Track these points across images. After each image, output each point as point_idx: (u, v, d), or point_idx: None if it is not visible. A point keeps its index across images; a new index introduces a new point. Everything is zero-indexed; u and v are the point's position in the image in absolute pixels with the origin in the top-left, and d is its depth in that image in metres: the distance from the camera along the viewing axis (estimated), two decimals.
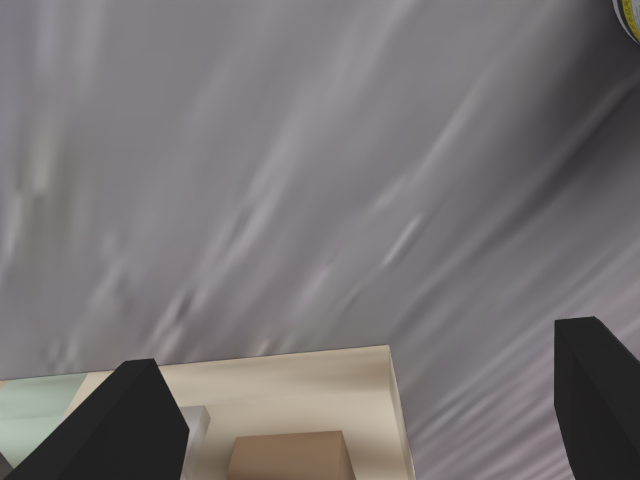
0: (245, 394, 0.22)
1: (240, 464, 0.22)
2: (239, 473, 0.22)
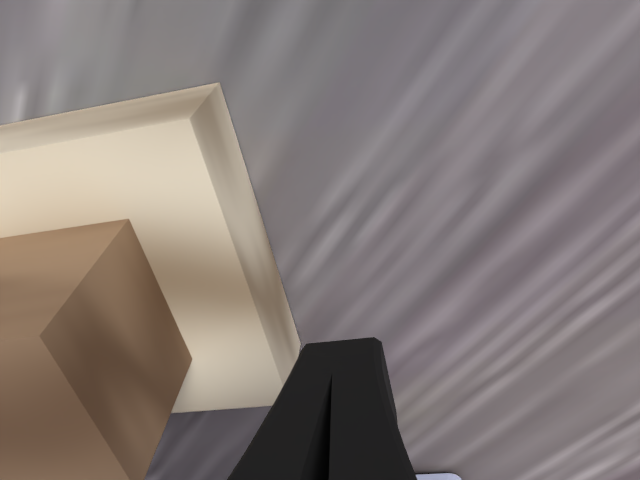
0: None
1: None
2: None
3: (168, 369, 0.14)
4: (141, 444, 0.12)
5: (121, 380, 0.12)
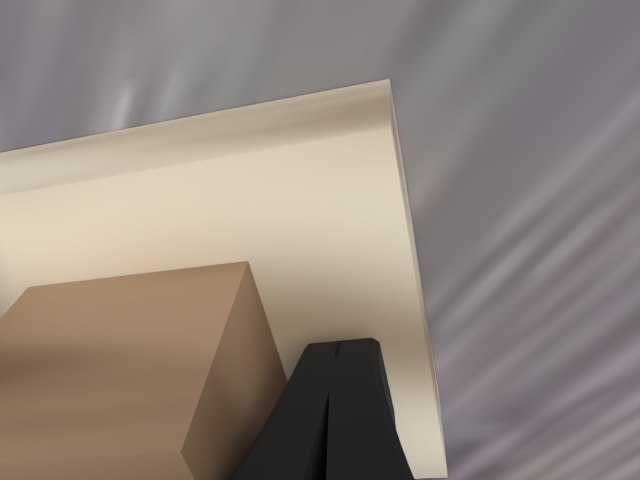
0: (62, 176, 0.10)
1: (10, 331, 0.10)
2: None
3: None
4: None
5: None
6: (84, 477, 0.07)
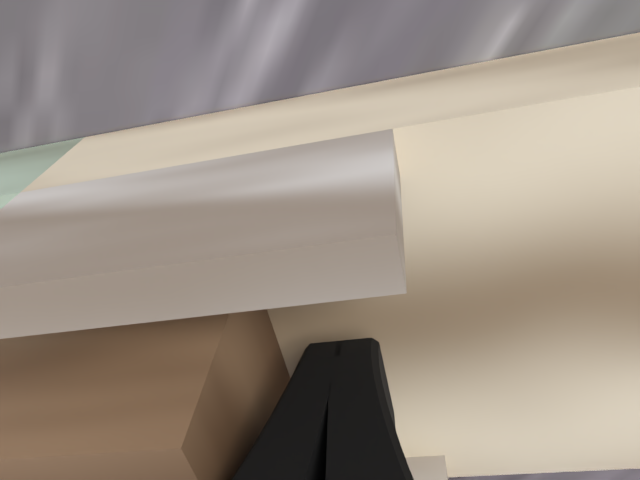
0: (502, 100, 0.08)
1: None
2: (1, 346, 0.09)
3: None
4: None
5: None
6: (86, 475, 0.07)
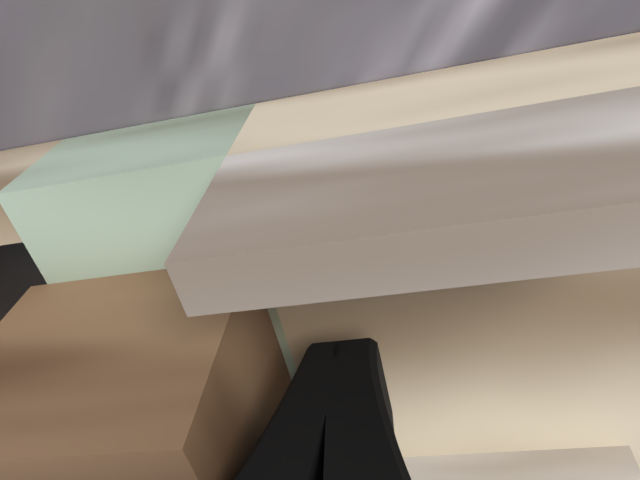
0: None
1: (13, 330, 0.10)
2: (2, 347, 0.09)
3: None
4: None
5: None
6: (86, 476, 0.07)
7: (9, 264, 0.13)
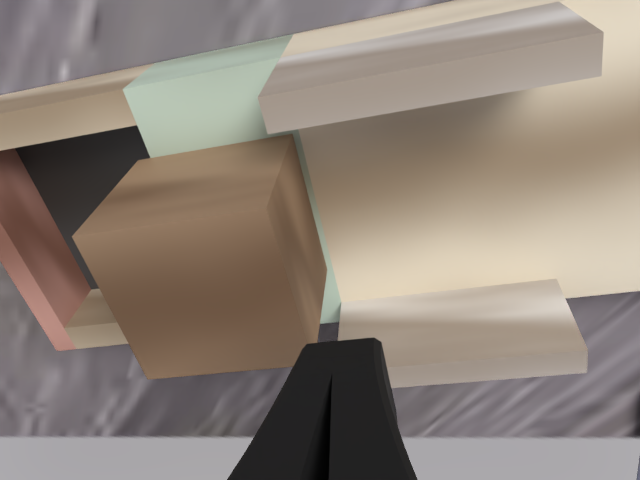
0: None
1: (135, 179, 0.14)
2: (131, 186, 0.14)
3: (318, 271, 0.16)
4: (312, 325, 0.14)
5: (300, 266, 0.14)
6: (205, 233, 0.12)
7: (106, 162, 0.18)
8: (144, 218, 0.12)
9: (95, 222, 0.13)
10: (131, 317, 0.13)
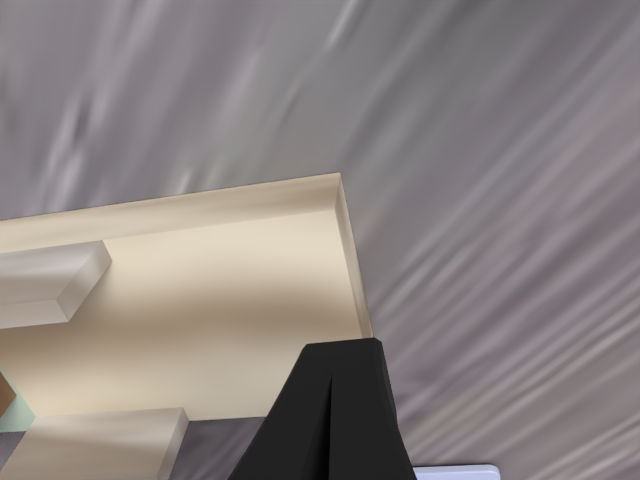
0: (154, 227, 0.18)
1: None
2: None
3: None
4: None
5: None
6: None
7: None
8: None
9: None
10: None
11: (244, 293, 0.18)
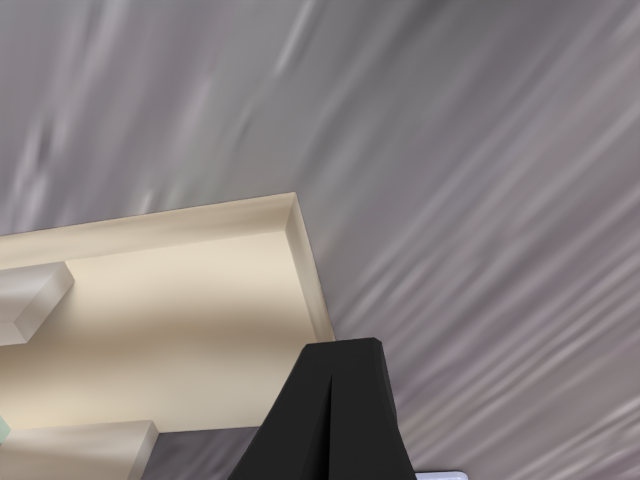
0: (114, 248, 0.18)
1: None
2: None
3: None
4: None
5: None
6: None
7: None
8: None
9: None
10: None
11: (204, 310, 0.19)
